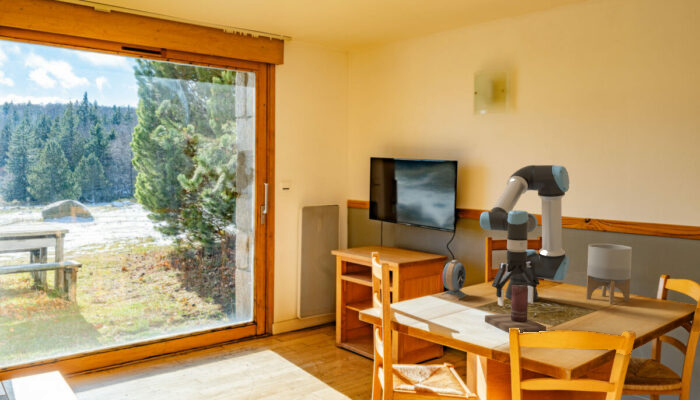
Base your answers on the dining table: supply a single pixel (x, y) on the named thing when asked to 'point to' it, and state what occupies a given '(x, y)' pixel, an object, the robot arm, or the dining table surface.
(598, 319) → the dining table surface
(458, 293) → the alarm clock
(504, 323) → the board
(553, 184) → the robot arm
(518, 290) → the can
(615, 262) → the planter
